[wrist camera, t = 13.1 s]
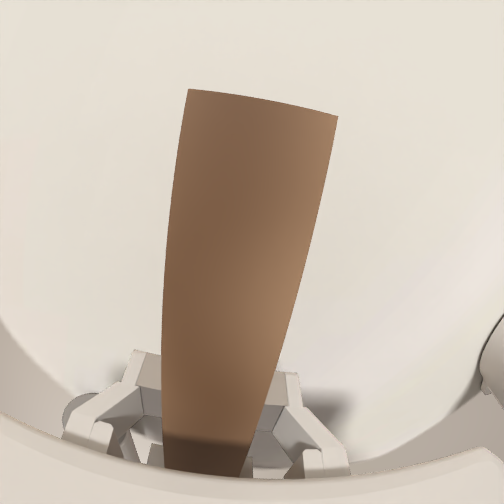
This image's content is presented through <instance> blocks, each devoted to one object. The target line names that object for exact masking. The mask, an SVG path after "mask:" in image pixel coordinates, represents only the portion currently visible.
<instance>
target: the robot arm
mask: <svg viewBox="0 0 504 504" xmlns="http://www.w3.org/2000/svg"><path fill="white" fill-rule="evenodd" d="M480 372H481V374H482V376H483V382H482V385H481V390H482V392H483V393H484V394H485V395H488V394H491V393H492V394H493V395H494V396H495V398H496V399H497V401H498V402H499V404H500V405H501V407H502V408H503V410H504V317H503V319H502V320H501V321H500V323H499V324H498V326H497V327H496V329H495V331H494V332H493V334H492V335H491V337H490V339H489V341H488V343H487V345H486V347H485V349H484V351H483V354H482V357H481V360H480ZM144 415H149V416H155V417H160V418H162V404H161V355H157V354H152V353H148V352H143V351H138V350H134V351H133V352H132V354H131V357H130V359H129V362H128V364H127V367H126V370H125V372H124V375H123V378H122V381H121V382H118V381H117V382H116V383H114V384H113V385H111V386H110V387H108V388H107V389H105V390H104V391H102V392H101V393H99V394H97V395H96V396H94V397H93V398H91V399H90V400H88V401H87V402H85V403H84V404H82V405H81V406H79V407H78V408H76V409H75V410H73V411H72V413H71V415H70V418H69V420H68V422H67V425H66V427H65V430H64V432H63V435H62V438H61V439H60V438H58V437H55V436H53V435H50V434H48V433H46V432H43V431H41V430H39V429H36V428H34V427H32V426H29V425H27V424H25V423H23V422H21V421H18V420H17V419H15V418H13V417H11V416H9V415H7V414H5V413H3V412H1V411H0V504H504V463H503V461H502V460H500V459H499V458H498V457H497V456H496V455H494V454H493V453H492V452H490V451H489V450H487V449H486V448H484V447H476V448H472V449H470V450H466V451H463V452H460V453H457V454H454V455H450V456H447V457H444V458H440V459H436V460H432V461H428V462H424V463H420V464H416V465H411V466H407V467H401V468H396V469H392V470H386V471H379V472H373V473H366V474H358V475H351V473H350V468H349V463H348V458H347V454H346V449H345V447H344V445H343V444H342V443H341V442H340V441H339V440H338V439H337V438H336V437H335V436H334V435H333V434H332V433H331V432H330V431H329V430H328V429H327V428H326V427H325V426H324V425H323V424H322V423H321V422H320V421H319V420H318V418H317V417H316V416H315V415H314V414H313V413H312V412H311V411H310V410H309V409H308V408H307V407H303V402H302V395H301V389H300V382H299V376H298V374H297V373H291V372H280V371H275V372H274V375H273V378H272V382H271V385H270V388H269V391H268V394H267V397H266V400H265V403H264V407H263V410H262V413H261V416H260V419H259V422H258V425H257V428H256V430H258V431H270V432H272V434H273V435H274V436H275V438H276V439H277V441H278V442H279V444H280V445H281V447H282V448H283V449H284V451H285V452H286V454H287V455H288V457H289V458H290V459H291V461H292V462H293V465H292V467H291V468H290V469H289V470H288V472H287V473H286V474H285V476H284V479H254V478H237V477H225V476H215V475H206V474H198V473H191V472H185V471H178V470H173V469H167V468H162V467H157V466H152V465H147V464H143V463H139V462H134V461H130V460H126V459H123V458H124V455H123V453H122V450H121V448H120V445H119V442H118V439H119V438H120V437H121V436H122V435H123V434H125V433H126V432H127V431H128V430H129V429H130V428H131V427H132V426H133V425H134V424H135V423H137V422H138V421H139V420H140V419H141V418H142V417H143V416H144Z"/></svg>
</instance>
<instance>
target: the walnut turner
mask: <svg viewBox="0 0 504 504" xmlns="http://www.w3.org/2000/svg"><path fill="white" fill-rule="evenodd" d="M337 120H338V116H335V115H331V114H328V113H324V112H320V111H316V110H312V109H307V108H303V107H299V106H294V105H290V104H285V103H280V102H275V101H270V100H265V99H259V98H254V97H248V96H241V95H235V94H228V93H221V92H213V91H205V90H196V89H188V93H187V98H186V103H185V109H184V115H183V120H182V126H181V132H180V139H179V145H178V152H177V159H176V166H175V173H174V181H173V189H172V197H171V206H170V215H169V225H168V235H167V247H166V259H165V273H164V289H163V310H162V340H161V404H162V433H163V446H162V445H157V444H153V443H152V444H151V448H150V452H149V457H148V462H147V465H152V466H157V467H162V468H167V469H173V470H178V471H185V472H191V473H198V474H206V475H215V476H225V477H237V478H253V466H252V457H247V453H248V451H249V448H250V445H251V442H252V439H253V436H254V433H255V430H256V428H257V425H258V422H259V419H260V416H261V413H262V410H263V407H264V403H265V400H266V397H267V394H268V391H269V388H270V385H271V382H272V378H273V375H274V372H275V369H276V366H277V362H278V359H279V356H280V352H281V349H282V346H283V342H284V339H285V335H286V332H287V329H288V325H289V322H290V318H291V314H292V311H293V307H294V304H295V300H296V296H297V293H298V289H299V285H300V282H301V278H302V274H303V270H304V266H305V262H306V259H307V255H308V251H309V247H310V243H311V239H312V235H313V230H314V226H315V222H316V218H317V214H318V209H319V205H320V201H321V196H322V192H323V188H324V183H325V179H326V174H327V169H328V165H329V160H330V155H331V150H332V145H333V140H334V135H335V130H336V125H337Z"/></svg>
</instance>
